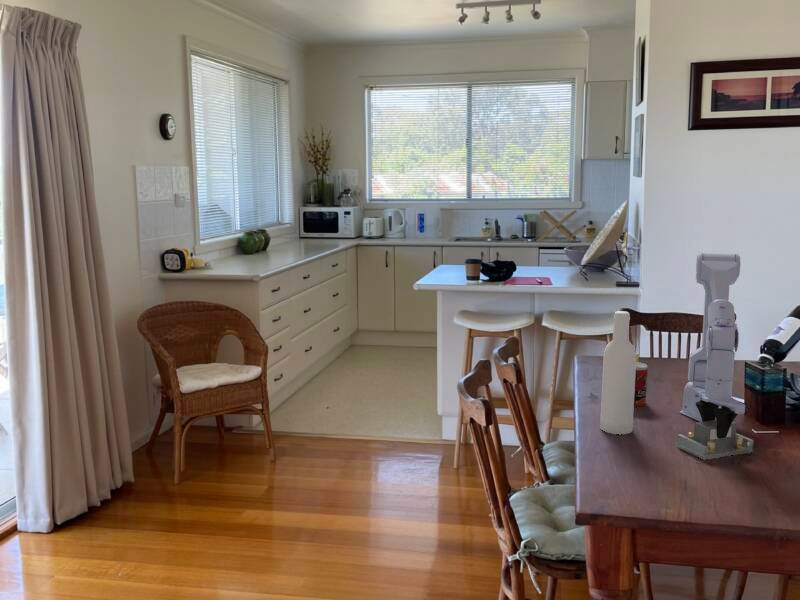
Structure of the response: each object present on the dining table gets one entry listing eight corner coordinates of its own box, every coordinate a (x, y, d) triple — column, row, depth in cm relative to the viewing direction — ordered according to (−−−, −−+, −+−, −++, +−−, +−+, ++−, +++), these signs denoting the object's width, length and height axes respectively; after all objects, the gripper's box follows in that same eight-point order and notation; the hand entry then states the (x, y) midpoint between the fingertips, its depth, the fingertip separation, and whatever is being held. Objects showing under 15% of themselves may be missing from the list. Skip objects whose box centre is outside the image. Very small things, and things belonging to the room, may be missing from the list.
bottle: (612, 436, 185) (618, 316, 180) (593, 426, 192) (598, 310, 187) (639, 432, 188) (646, 313, 183) (619, 423, 195) (625, 308, 190)
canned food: (640, 408, 207) (642, 369, 206) (612, 403, 212) (613, 365, 210) (649, 401, 213) (652, 363, 212) (622, 396, 218) (624, 359, 216)
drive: (693, 445, 176) (694, 422, 175) (723, 440, 179) (725, 418, 178) (704, 450, 173) (705, 427, 172) (735, 445, 176) (736, 423, 175)
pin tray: (676, 446, 178) (677, 432, 178) (723, 439, 183) (724, 425, 182) (703, 460, 170) (704, 445, 169) (752, 452, 175) (753, 438, 174)
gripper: (683, 371, 179) (679, 426, 181) (729, 387, 166) (724, 447, 168) (707, 369, 181) (703, 423, 184) (754, 384, 168) (749, 443, 170)
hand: (715, 434), depth 176 cm, fingers closed on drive, 4 cm apart
